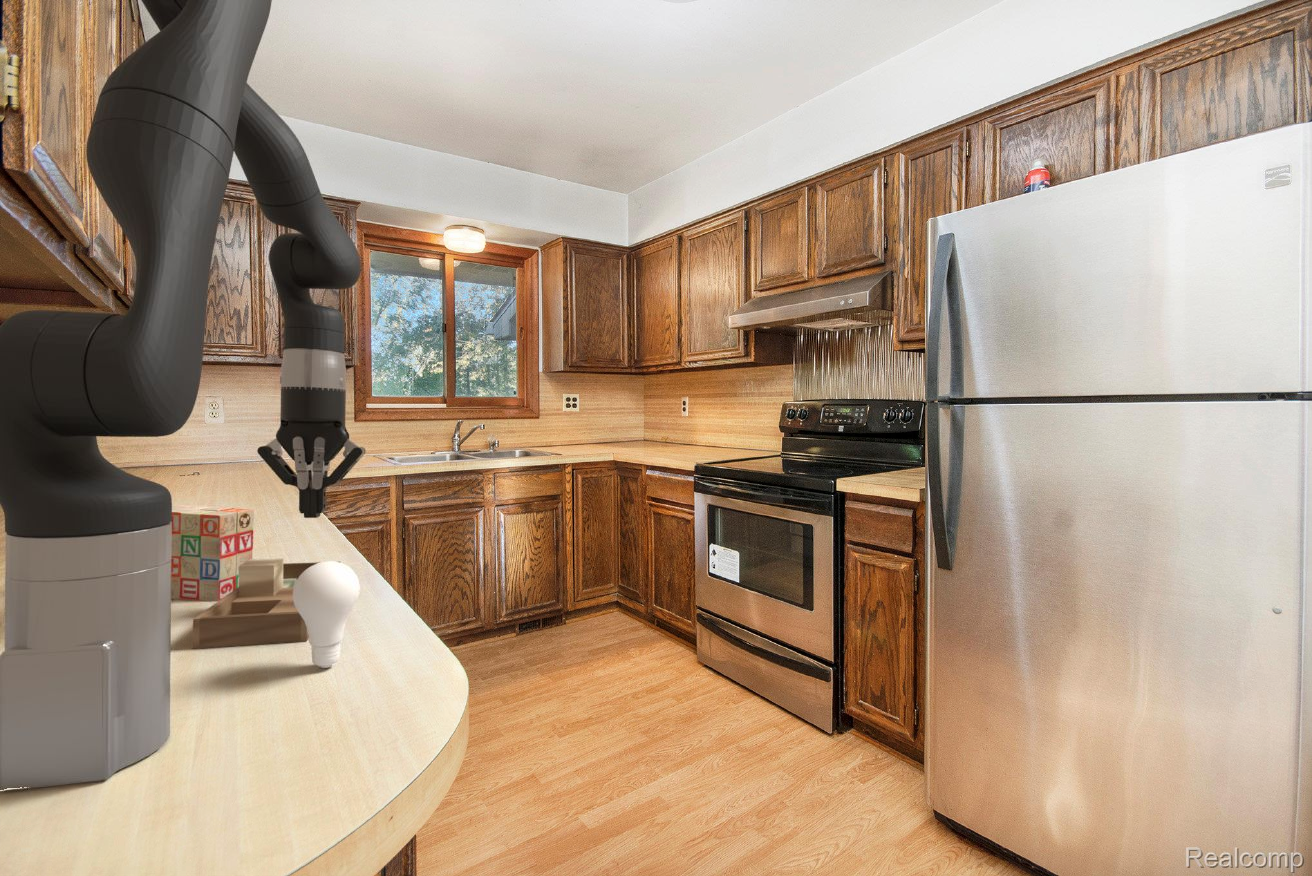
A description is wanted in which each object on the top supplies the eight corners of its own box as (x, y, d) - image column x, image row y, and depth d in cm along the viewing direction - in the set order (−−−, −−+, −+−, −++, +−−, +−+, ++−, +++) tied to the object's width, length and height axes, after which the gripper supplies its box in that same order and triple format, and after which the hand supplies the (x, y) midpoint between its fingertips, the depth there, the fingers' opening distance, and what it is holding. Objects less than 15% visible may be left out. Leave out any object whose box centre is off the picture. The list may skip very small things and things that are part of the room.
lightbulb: (283, 682, 60) (284, 570, 60) (301, 658, 66) (302, 556, 66) (351, 676, 62) (353, 567, 61) (363, 654, 68) (365, 554, 67)
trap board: (306, 641, 71) (307, 602, 71) (192, 649, 68) (193, 608, 68) (344, 591, 91) (344, 561, 91) (258, 595, 88) (258, 564, 88)
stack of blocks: (82, 593, 88) (82, 507, 87) (124, 582, 94) (125, 502, 94) (219, 602, 85) (220, 513, 85) (253, 590, 91) (254, 507, 91)
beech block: (273, 595, 80) (274, 565, 80) (238, 597, 79) (238, 566, 79) (283, 587, 84) (283, 558, 84) (249, 589, 83) (249, 559, 83)
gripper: (373, 389, 87) (371, 512, 87) (268, 386, 83) (266, 513, 84) (362, 386, 79) (360, 520, 80) (246, 382, 76) (244, 522, 76)
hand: (312, 517), depth 82 cm, fingers closed
